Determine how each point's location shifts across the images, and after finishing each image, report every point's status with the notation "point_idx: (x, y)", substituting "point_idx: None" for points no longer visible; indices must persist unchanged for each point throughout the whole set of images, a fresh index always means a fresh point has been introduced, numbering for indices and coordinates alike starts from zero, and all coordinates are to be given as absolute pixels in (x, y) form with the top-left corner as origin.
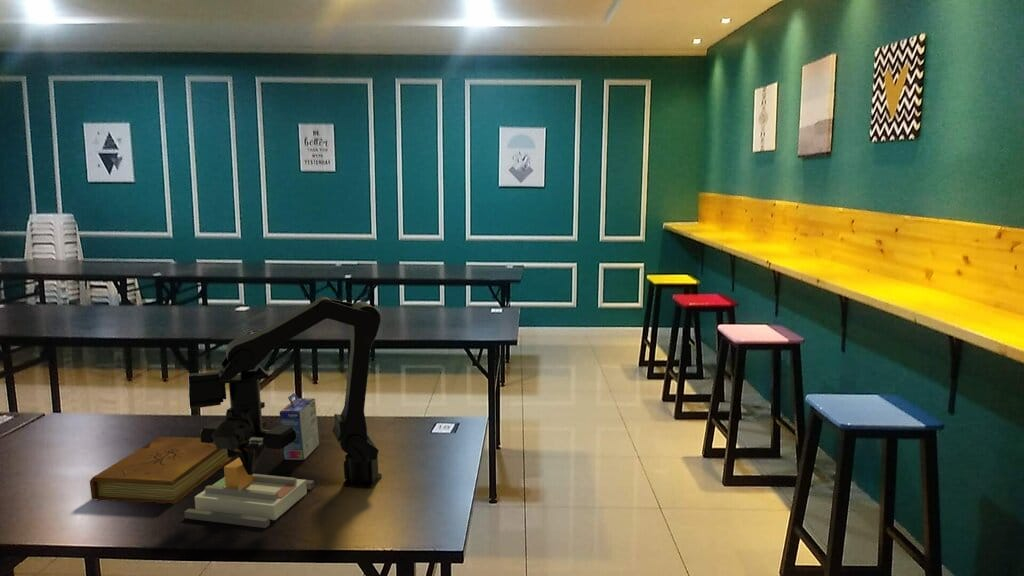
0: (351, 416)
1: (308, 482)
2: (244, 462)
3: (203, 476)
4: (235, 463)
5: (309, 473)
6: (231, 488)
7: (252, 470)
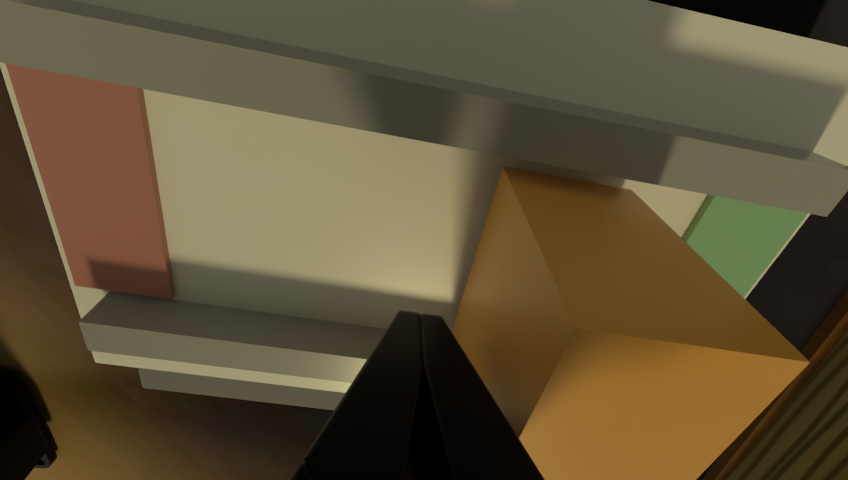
0: None
1: (158, 370)
2: (476, 450)
3: (783, 419)
4: (636, 448)
5: (279, 455)
6: (574, 155)
7: (378, 352)
